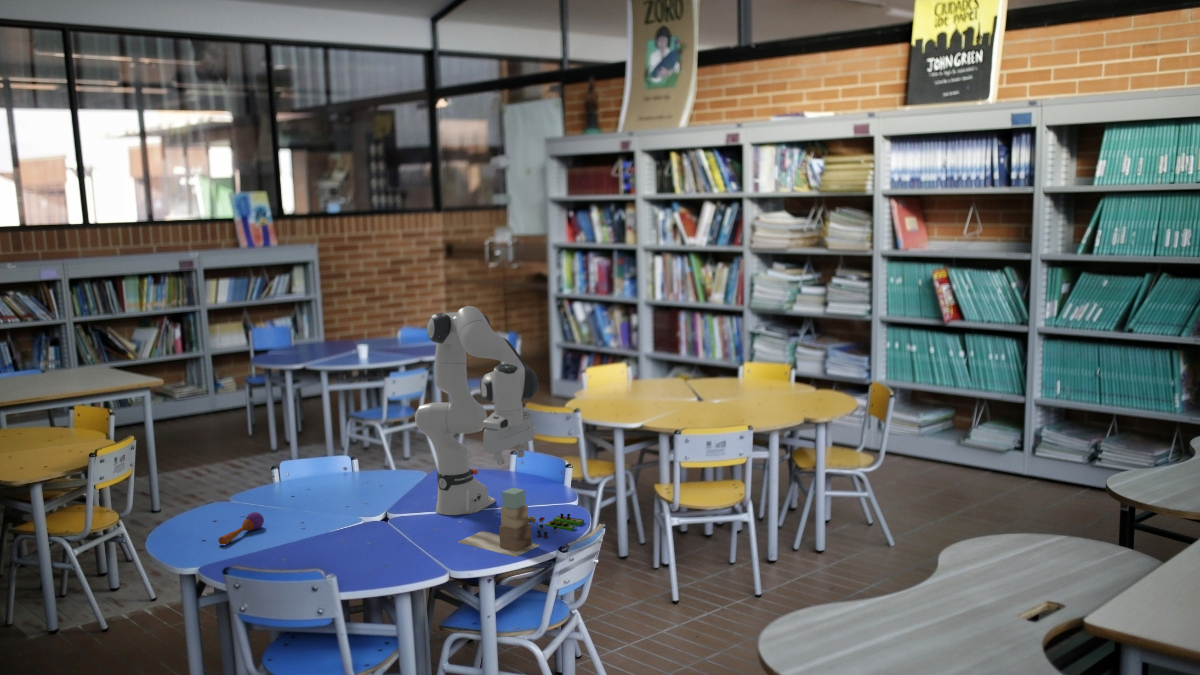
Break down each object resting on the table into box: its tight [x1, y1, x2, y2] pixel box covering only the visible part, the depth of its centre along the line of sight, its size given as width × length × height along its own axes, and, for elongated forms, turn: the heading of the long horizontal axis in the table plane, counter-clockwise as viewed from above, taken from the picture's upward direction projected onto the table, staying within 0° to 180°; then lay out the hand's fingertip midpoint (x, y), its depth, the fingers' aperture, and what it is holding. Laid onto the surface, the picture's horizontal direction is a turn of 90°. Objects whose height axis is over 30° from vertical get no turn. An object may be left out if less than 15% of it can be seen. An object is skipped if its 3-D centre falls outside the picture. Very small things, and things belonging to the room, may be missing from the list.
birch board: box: [457, 530, 541, 558], centre depth 310 cm, size 12×25×2 cm, turn 54°
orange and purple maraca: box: [217, 511, 265, 545], centre depth 329 cm, size 6×6×20 cm
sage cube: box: [501, 487, 526, 510], centre depth 305 cm, size 5×5×5 cm
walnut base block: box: [498, 522, 533, 552], centre depth 306 cm, size 7×7×7 cm
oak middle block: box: [500, 504, 530, 529], centre depth 305 cm, size 6×6×6 cm
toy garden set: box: [528, 513, 585, 539], centre depth 325 cm, size 23×19×5 cm
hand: (510, 460), depth 304 cm, fingers open, 8 cm apart
